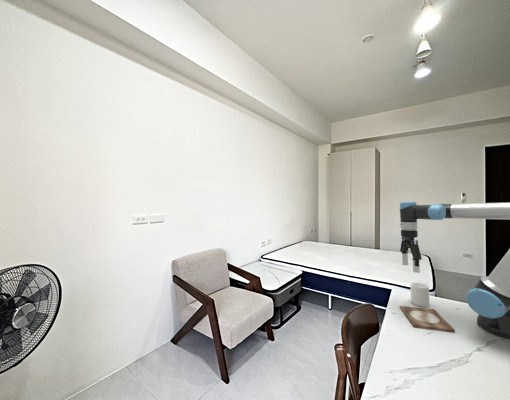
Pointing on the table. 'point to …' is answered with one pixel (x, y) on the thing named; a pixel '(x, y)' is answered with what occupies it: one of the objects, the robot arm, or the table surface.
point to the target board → (426, 319)
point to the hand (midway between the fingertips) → (410, 268)
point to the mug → (420, 294)
